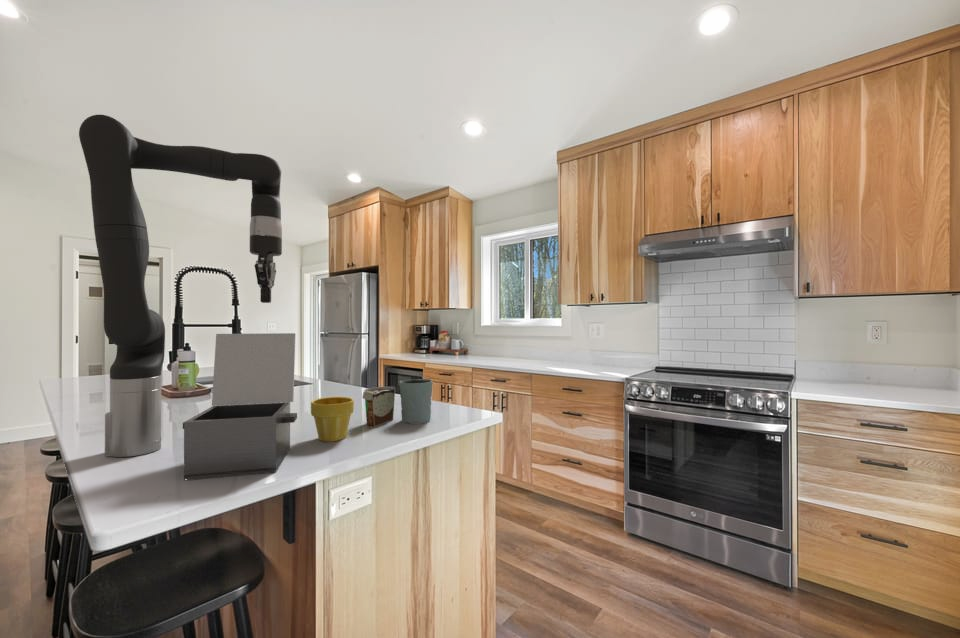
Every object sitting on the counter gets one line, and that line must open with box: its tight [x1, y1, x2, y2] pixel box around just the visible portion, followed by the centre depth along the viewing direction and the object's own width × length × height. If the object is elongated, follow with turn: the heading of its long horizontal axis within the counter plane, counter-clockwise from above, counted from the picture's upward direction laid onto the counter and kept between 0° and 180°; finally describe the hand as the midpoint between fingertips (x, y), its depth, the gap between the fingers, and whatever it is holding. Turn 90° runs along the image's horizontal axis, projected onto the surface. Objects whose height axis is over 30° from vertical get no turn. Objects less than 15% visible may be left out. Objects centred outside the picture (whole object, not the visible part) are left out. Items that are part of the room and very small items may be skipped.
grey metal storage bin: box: [182, 402, 298, 481], centre depth 90 cm, size 21×16×11 cm
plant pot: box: [310, 396, 355, 443], centre depth 109 cm, size 10×10×10 cm
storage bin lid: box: [211, 332, 296, 407], centre depth 100 cm, size 17×16×2 cm
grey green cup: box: [398, 378, 433, 425], centre depth 128 cm, size 10×10×12 cm
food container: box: [362, 386, 397, 428], centre depth 125 cm, size 12×6×10 cm, turn 157°
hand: (265, 302), depth 110 cm, fingers closed
